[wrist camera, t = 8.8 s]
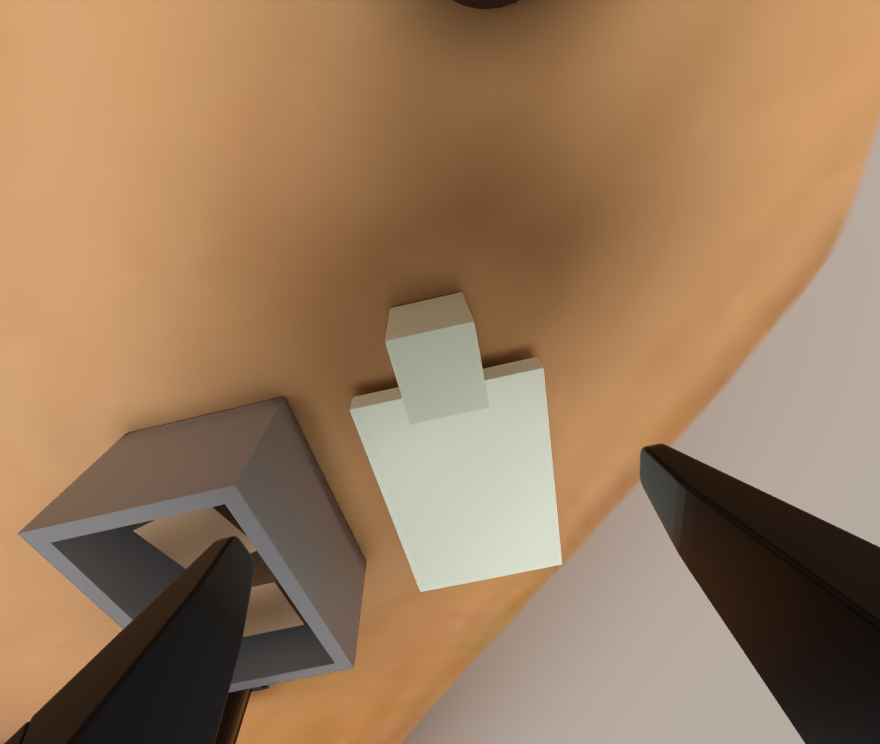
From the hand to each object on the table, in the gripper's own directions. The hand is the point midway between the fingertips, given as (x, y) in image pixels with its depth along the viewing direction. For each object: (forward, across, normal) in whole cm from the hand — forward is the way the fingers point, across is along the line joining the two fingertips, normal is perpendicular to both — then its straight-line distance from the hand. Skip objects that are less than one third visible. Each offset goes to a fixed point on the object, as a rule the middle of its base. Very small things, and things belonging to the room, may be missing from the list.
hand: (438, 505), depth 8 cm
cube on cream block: (+12, 0, +9) cm, 15 cm away
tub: (+12, +13, +9) cm, 20 cm away
